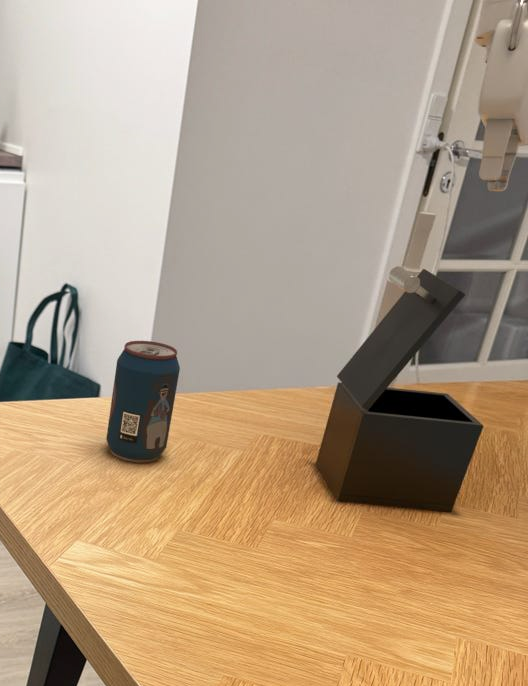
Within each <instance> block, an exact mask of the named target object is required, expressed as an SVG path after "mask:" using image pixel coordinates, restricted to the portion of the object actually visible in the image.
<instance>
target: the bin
mask: <svg viewBox="0 0 528 686" xmlns="http://www.w3.org/2000/svg"><path fill="white" fill-rule="evenodd" d="M328 414H329V415H328V417H327V420H326V425H325V428H324V432H323V436H322V439H321V443H320V446H319V451H318V454H317V458H316V461H315V466H316V467H317V469H318V471H319V472H320V474H321V476H322V477H323V480H324V481H325V482H326V484H327V486H328V488H329V490H330V491H331V492H332V494H333V496H334V498H335V499H336V501H337V502H344V503H354V504H362V505H373V506H381V507H382V506H384V507H393V508H404V509H413V510H424V511H425V510H426V511H434V512H444V513H452V512H453V510H454V506H455V504H456V501H457V498H458V495H459V493H460V490H461V488H462V485H463V483H464V480H465V477H466V474H467V472H468V469H469V466H470V464H471V461H472V458H473V456H474V453H475V450H476V447H477V445H478V442H479V439H480V437H481V435H482V432H483V429H484V425H483V423H481V421H480V420H478V419H477V418H476V417H474V415H472V414H471V413H470V412H469V411H468V410H467V409H466V408H464V407H463V405H462V404H460V403H459V401H457V400H455V399H454V398H453V396H451V395H450V394H449V393H445V392H436V391H426V390H419V389H418V390H417V389H406V388H397V387H394V388H388V387H387V388H386V390H385V391H384V392H383V393H382V394H381V396H380V397H379V398H378V399H377V400H376V401H375V403H374V404H373V405H372V406H371V407H370V409H369V410H368V411H367V410H365V409H364V408H363V407H362V406H361V405H360V404H359V403H358V402H357V400H356V399H355V398H354V397H353V395H352V394H351V393H350V392H349V391H348V389H347V388H346V387H345V386H344V385H343V383H342V382H341V381H340V382H339V381H338V382H337V385H336V389H335V392H334V396H333V399H332V403H331V407H330V410H329V413H328Z"/></svg>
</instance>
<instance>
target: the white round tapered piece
mask: <svg viewBox="0 0 528 686" xmlns="http://www.w3.org/2000/svg"><path fill="white" fill-rule="evenodd" d="M417 216H418V217H417V220H416V224H415V227H414V232H413V235H412V238H411V241H410V245H409V249H408V253H407V255H406V258H405V262H404V265H403V266H401V267H402V268H404V269H405V270H407V271H408V272H410V273H412V274H413V275H415V276H416V277H417V276H418V275H419V274H420V272H421V271H422V269H421V265H422V261H423V258H424V255H425V251H426V248H427V245H428V241H429V238H430V236H431V231H432V230H433V226H434V223H435V220H436V216H437V213H434V212H433V213H432V212H426V211H419V213H418V215H417ZM404 292H405V291H404V290H402V289H401V288H399V287H398V286H397V285H395V284H394V283H392V282H391V281H390V280H389V278H387V279H386V283H385V286H384V291H383V295H382V297H381V302H380V305H379V309H378V313H377V318H376V320H375V324H374V329H375V328H376V327H377V326H378V324H379V323H380V322H381V321H382V319H383V318H384V317H385V316H386V314H387V313H388V312H389V311H390V310H391V308H392V307H393V306H394V305H395V303H396V302H397V301H398V300H399V298H400V297H401V296H402V295H403V293H404ZM374 329H373V330H374ZM398 376H399V374H398V375H397V377H396V378H395V379H394V380H393V381H392V383H391V384H390V385H389V386H388V388H395V386H396V381H397V379H398Z"/></svg>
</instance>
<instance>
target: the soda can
mask: <svg viewBox="0 0 528 686" xmlns="http://www.w3.org/2000/svg"><path fill="white" fill-rule="evenodd" d="M180 371H181V366H180V364H179V361H178V350H177V349H176V348H175V347H173V346H171V345H169V344H165V343H162V342H158V341H150V340H130V341H127V342H125V344H124V349H123V350H122V352H121V353H120V354H119V356H118V358H117V360H116V366H115V372H114V373H115V374H114V380H113V387H112V394H111V401H110V410H109V416H108V424H107V430H106V443H107V445H108V448H109V450H110V452H111V454H112V455H113V456H114V457H116V458H118V459H120V460H124V461H126V462H131V463H150V462H154V461H156V460H158V459H159V458H160V456H162V454H163V453H164V451H165V450H166V449H167V446H168V440H169V433H170V428H171V423H172V417H173V410H174V404H175V399H176V394H177V387H178V382H179V377H180Z"/></svg>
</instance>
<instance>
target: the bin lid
mask: <svg viewBox="0 0 528 686" xmlns="http://www.w3.org/2000/svg"><path fill="white" fill-rule="evenodd" d="M402 267H403V266H399V265H398V266H395V267H392V268H391V269H390V271H389V273H388V279H389V280H390V281H391V282H392V283H394V284H395V285H397V286H398V287H399V288H401V289H402V290H404V291H405V292H404V293H403V295H402V296H401V297H400V298H399V300H398V301H397V302H396V303H395V305H394V306H393V307H392V308H391V310H390V311H389V312H388V313H387V314H386V316H385V317H384V318H383V319H382V321H381V322H380V323H379V324H378V326H377V327H376V328H375V327H374V328H375V329H373V330H372V332H371V333H370V334H369V335H368V337H367V338H366V339H365V340H364V342H363V343H362V344H361V345H360V347H359V348H358V349H357V350H356V351H355V353H354V354H353V355H352V357H351V358H350V359H349V360H348V361H347V363H346V364H345V365H344V367H343V368H342V369H341V370H340V371H339V372H338V374H337V375H336V377H337V379H338V380H339V381H340V383H343V385H344V386H345V387H346V388H347V389H348V391H349V392H350V393H351V394H352V395H353V397H354V398H355V399H356V400H357V402H358V403H359V404H360V405H361V406H362V407H363V408H364V409H365V410H367V411H368V410H369V409H370V407H371V406H372V405H373V404H374V403H375V401H376V400H377V399H378V398H379V397H380V396H381V394H382V393H383V392H384V391H385V390H386V388H387V387H388V386H389V385H390V384H391V383H392V381H393V380H394V379H395V378H396V377H397V378H398V376H399V374H400V373H402V371H403V369H404V368H405V367H406V366H407V365H408V364H409V363H410V361H412V359H413V358H414V356H416V354H418V352H419V351H420V350H421V348H422V347H423V346H424V345H425V344H426V342H427V341H429V339H430V338H431V337H432V335H433V334H434V333H435V332H436V330H437V329H439V327H440V326H441V325H442V324H443V322H445V320H446V319H447V317H449V315H450V314H451V313H452V312H453V310H454V309H455V308H456V307H457V306H458V304H460V303H461V302H462V300H463V299H464V297H465V296H466V293H465V292H463V291H462V290H460V289H459V288H457V287H455V286H454V285H452V284H450V283H449V282H447V281H446V280H444V279H442V278H441V277H439V276H437V275H436V274H434V273H432V272H431V271H429V270H427V269H425V268H422V269H421V272H420V274H419V275H418V276H417V277H416V276H415V275H413V274H412V273H410V272H408V271H407V270H405V269H404V268H402ZM397 375H398V376H397Z"/></svg>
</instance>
